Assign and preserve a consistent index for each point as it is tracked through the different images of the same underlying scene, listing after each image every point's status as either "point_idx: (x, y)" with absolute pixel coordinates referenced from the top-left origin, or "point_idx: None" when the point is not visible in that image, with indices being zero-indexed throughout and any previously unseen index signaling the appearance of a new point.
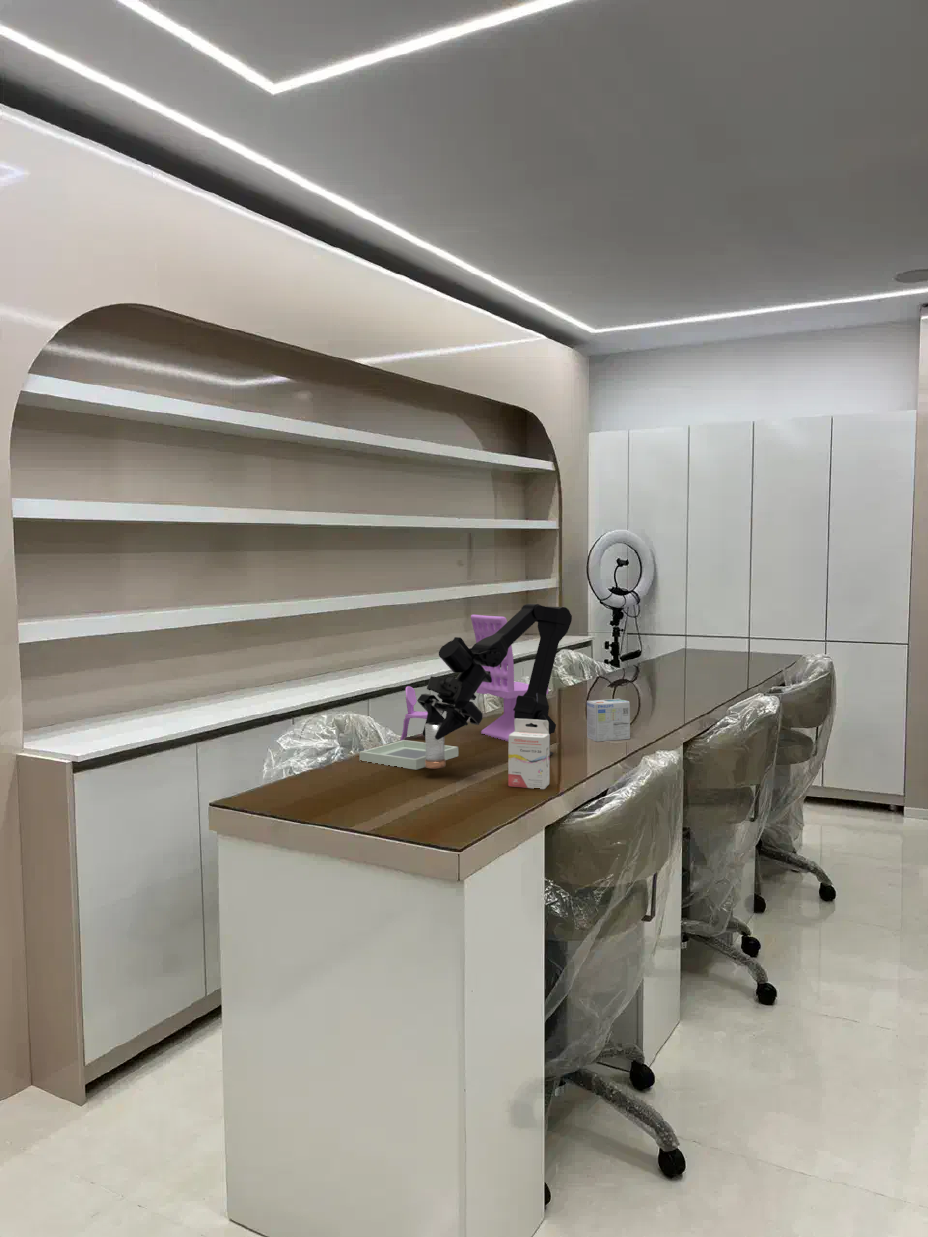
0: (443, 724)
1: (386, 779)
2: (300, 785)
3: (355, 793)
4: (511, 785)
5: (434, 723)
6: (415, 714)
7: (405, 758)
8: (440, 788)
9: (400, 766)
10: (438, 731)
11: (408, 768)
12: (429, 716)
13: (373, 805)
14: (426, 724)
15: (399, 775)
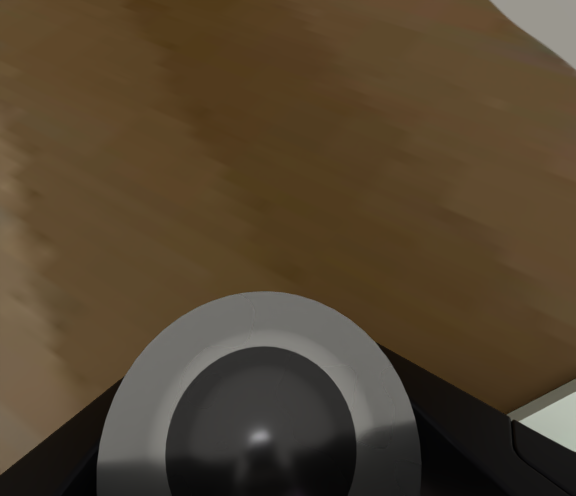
0: (3, 488)
1: (350, 224)
2: (416, 14)
3: (229, 73)
4: None
5: (290, 458)
6: None
7: (561, 398)
8: (52, 328)
9: (558, 389)
10: (108, 404)
11: (511, 412)
12: (556, 493)
13: (66, 55)
14: (309, 316)
15: (390, 301)
